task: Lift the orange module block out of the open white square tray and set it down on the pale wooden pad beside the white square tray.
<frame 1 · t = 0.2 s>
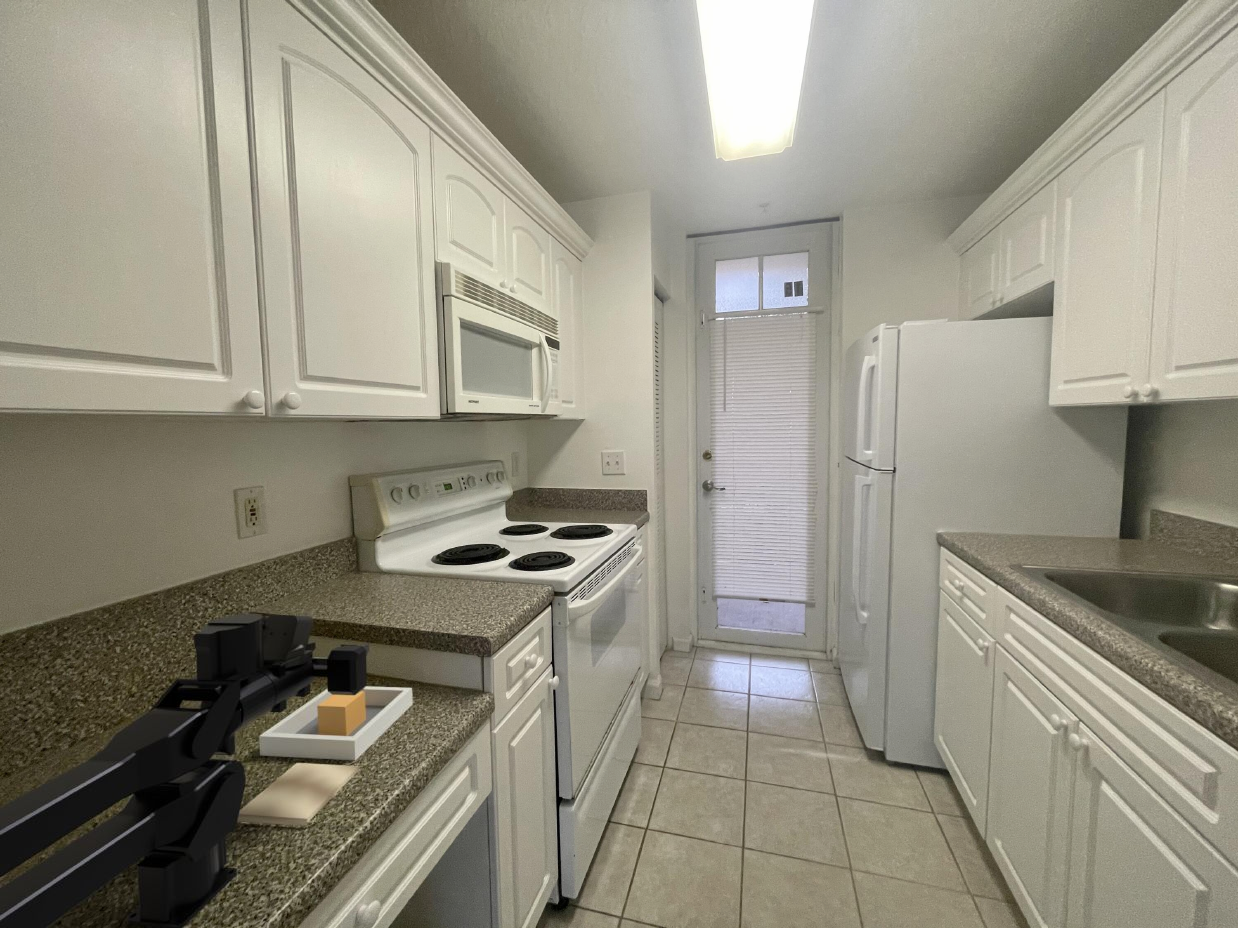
hand: (341, 645, 76), 17 cm above the worktop, tool horizontal, fingers open, 9 cm apart
module: (342, 727, 81), resting on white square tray
pad: (301, 795, 66), on the worktop
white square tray: (343, 729, 81), on the worktop
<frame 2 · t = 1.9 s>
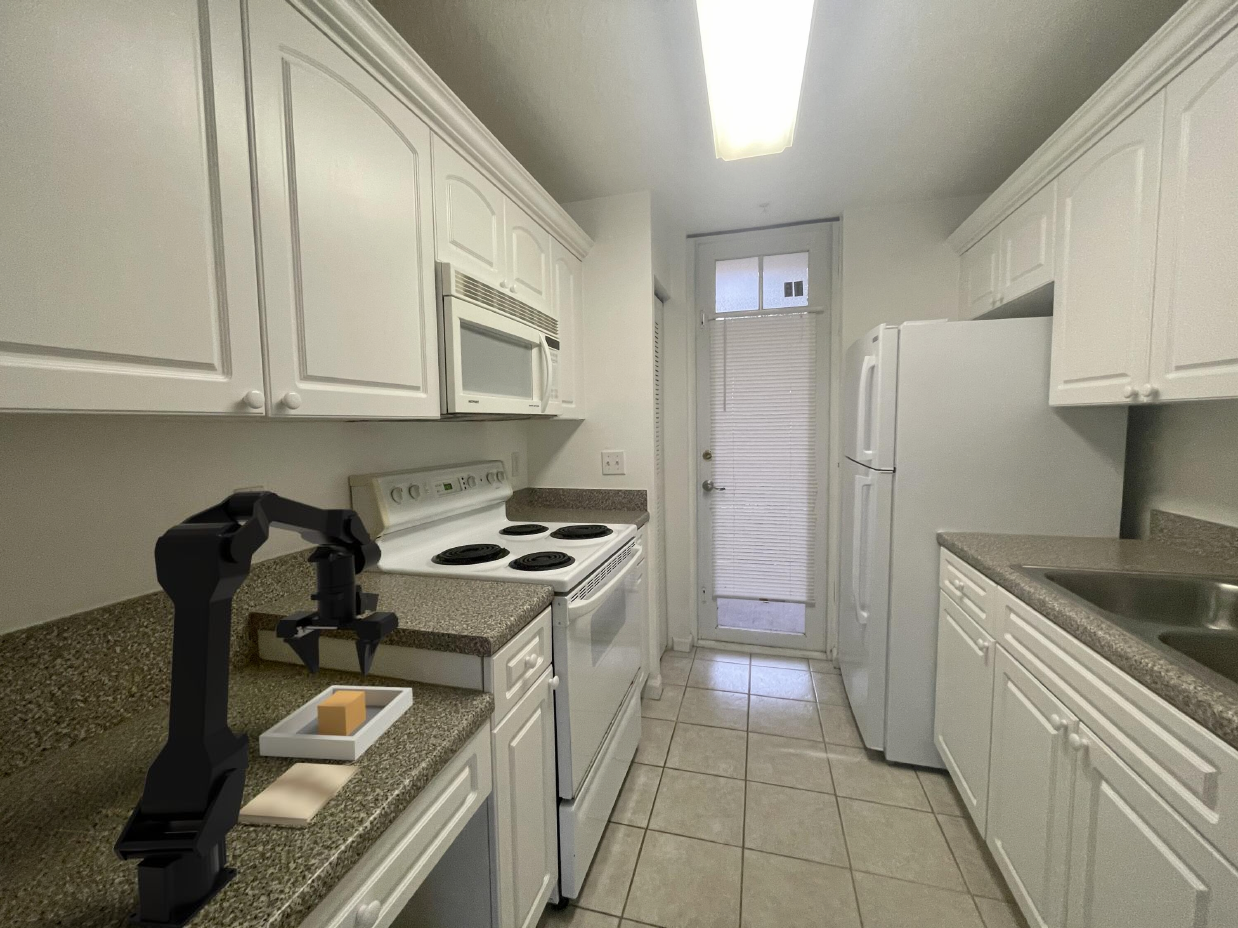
hand: (340, 674, 81), 10 cm above the worktop, tool pointing down, fingers open, 9 cm apart
nothing on the worktop moved.
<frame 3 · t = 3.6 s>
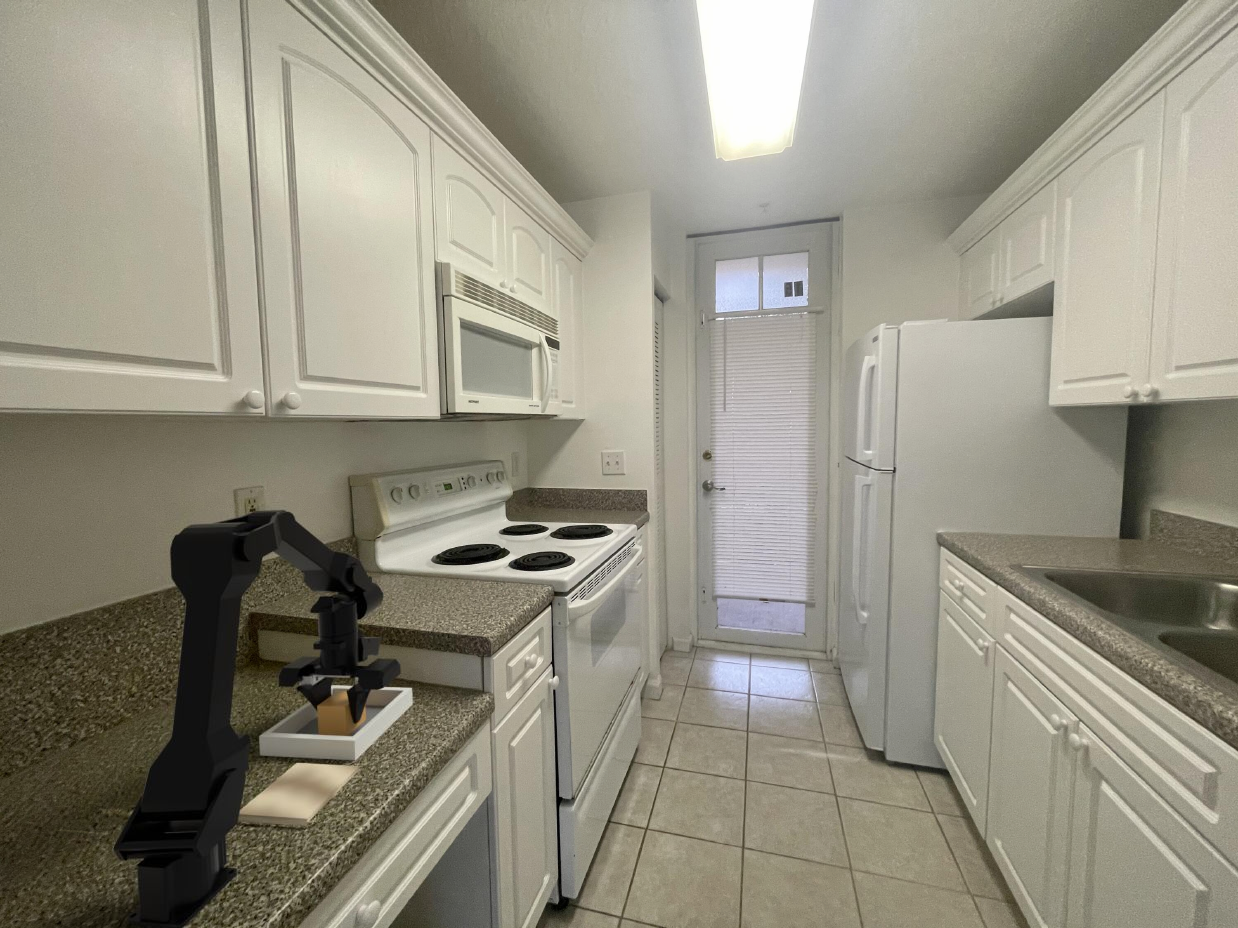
hand: (342, 721, 81), 2 cm above the worktop, tool pointing down, fingers closed on module, 5 cm apart
module: (342, 727, 81), resting on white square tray, touching gripper
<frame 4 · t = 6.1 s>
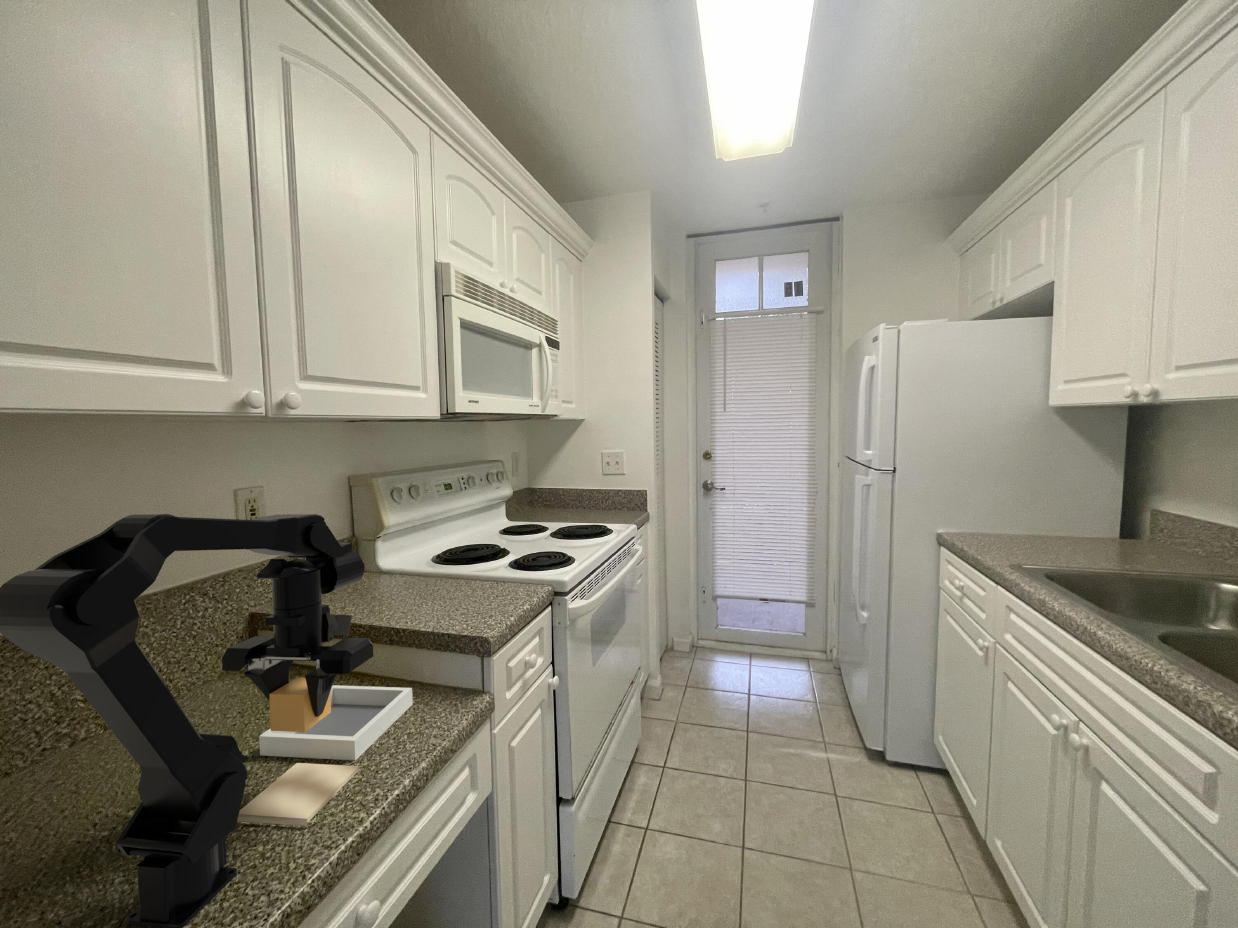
hand: (301, 714, 67), 11 cm above the worktop, tool pointing down, fingers closed on module, 5 cm apart
module: (301, 721, 67), point 10 cm above the worktop, touching gripper
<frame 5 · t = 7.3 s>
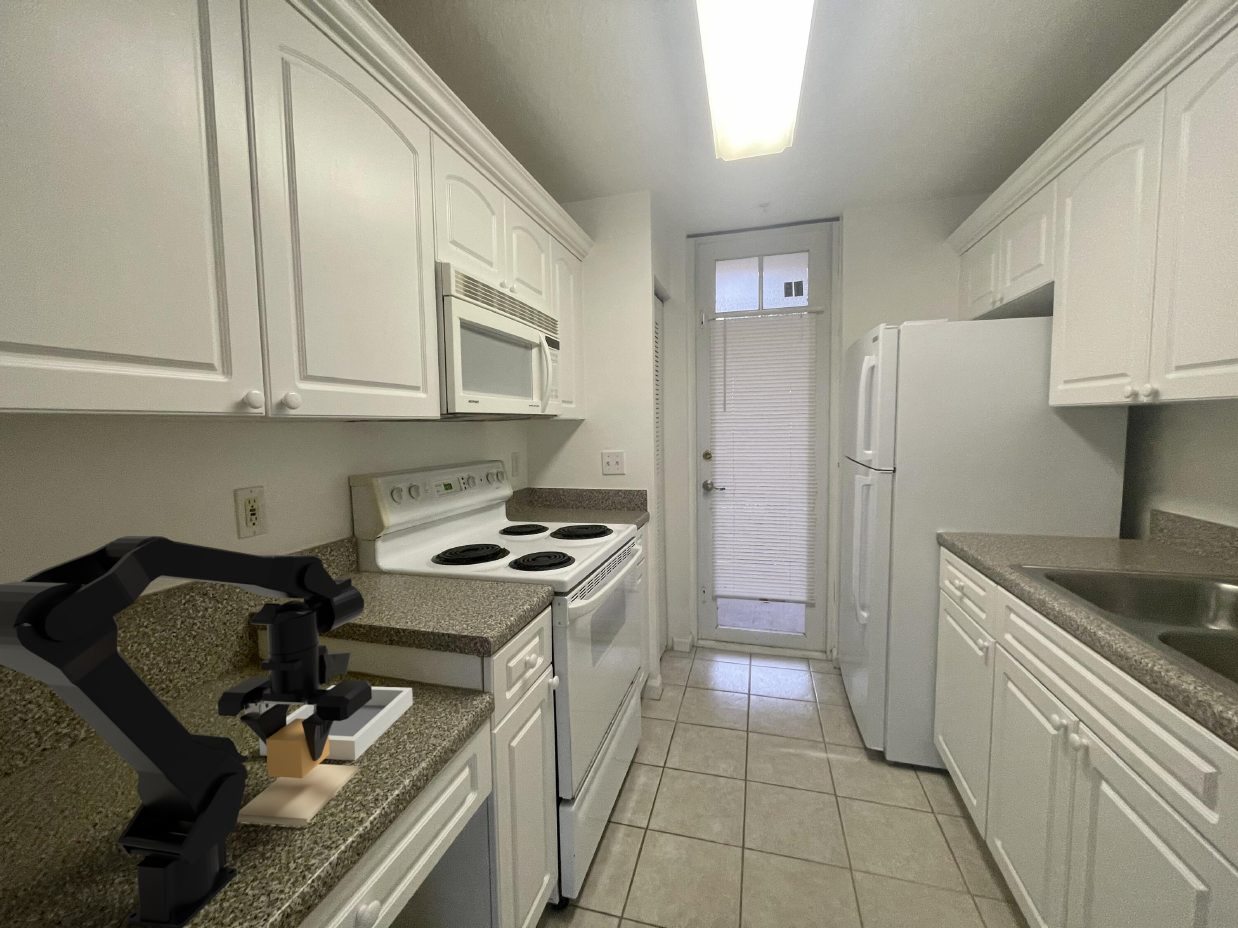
hand: (299, 758, 66), 5 cm above the worktop, tool pointing down, fingers closed on module, 5 cm apart
module: (299, 764, 66), point 4 cm above the worktop, touching gripper
when the fingers open (3 cm above the worktop, at t = 8.5 s): module drops 1 cm, resting on pad.
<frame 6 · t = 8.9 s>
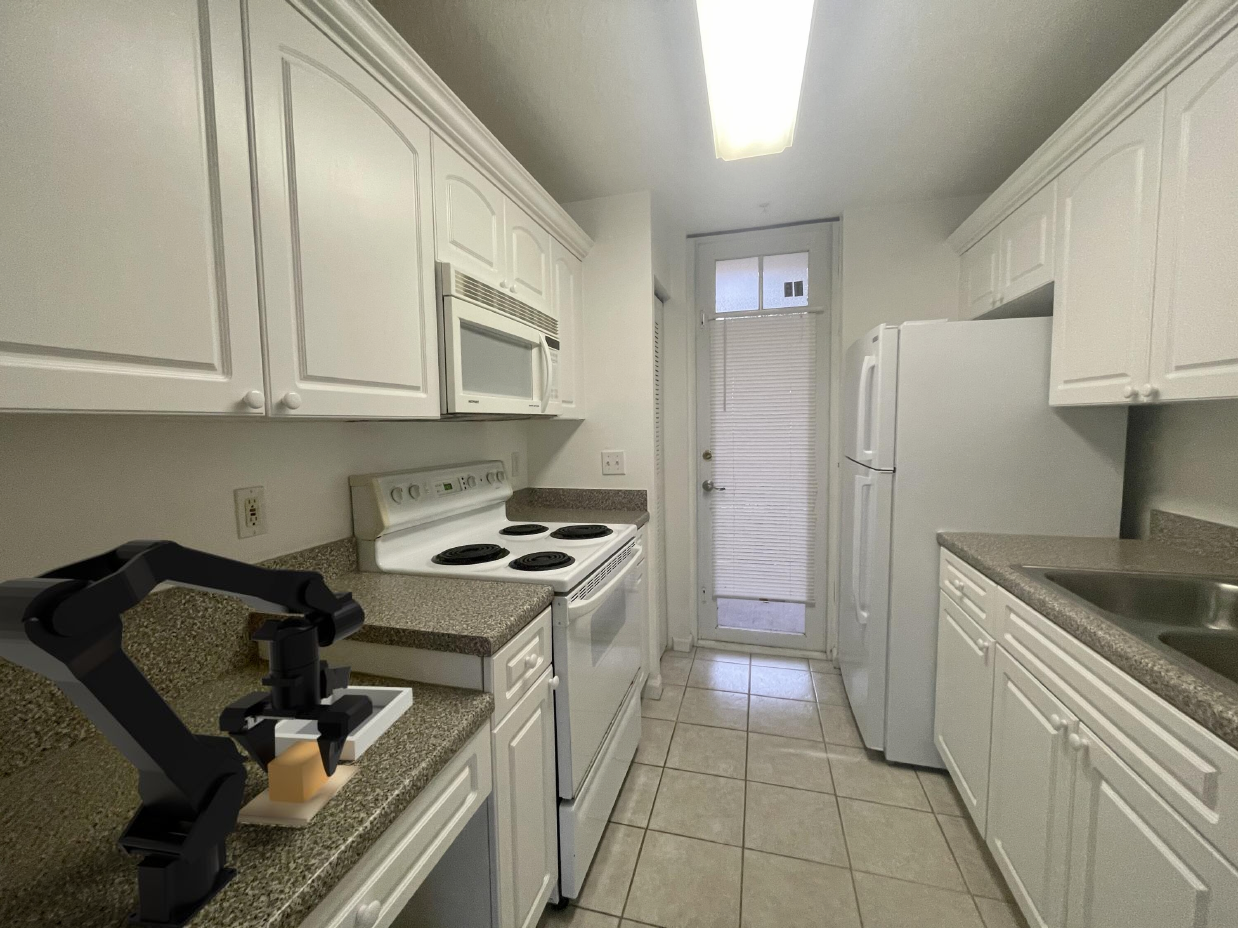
hand: (300, 772, 66), 3 cm above the worktop, tool pointing down, fingers open, 9 cm apart
module: (301, 788, 66), point 1 cm above the worktop, touching pad
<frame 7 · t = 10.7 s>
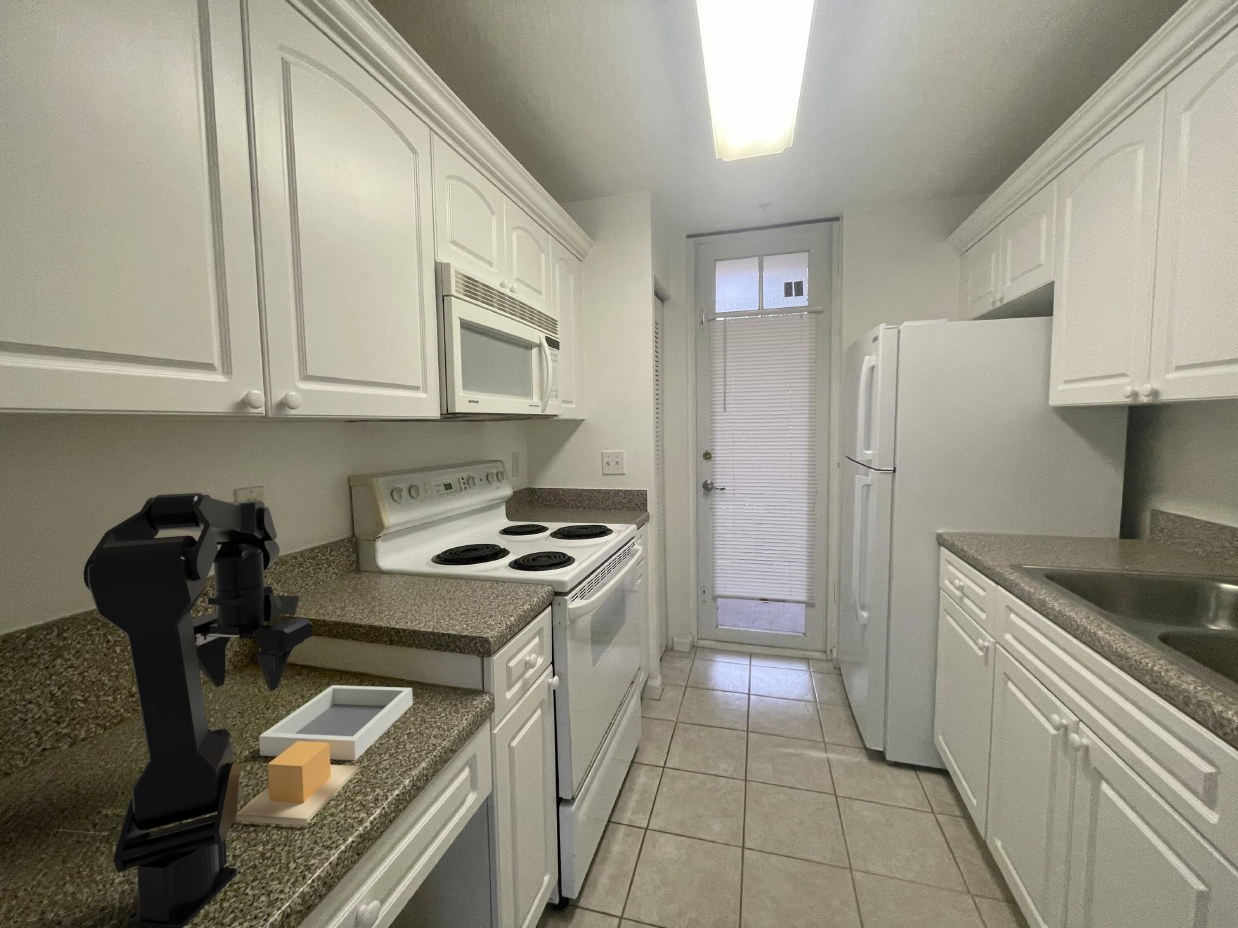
hand: (246, 687, 72), 12 cm above the worktop, tool pointing down, fingers open, 9 cm apart
nothing on the worktop moved.
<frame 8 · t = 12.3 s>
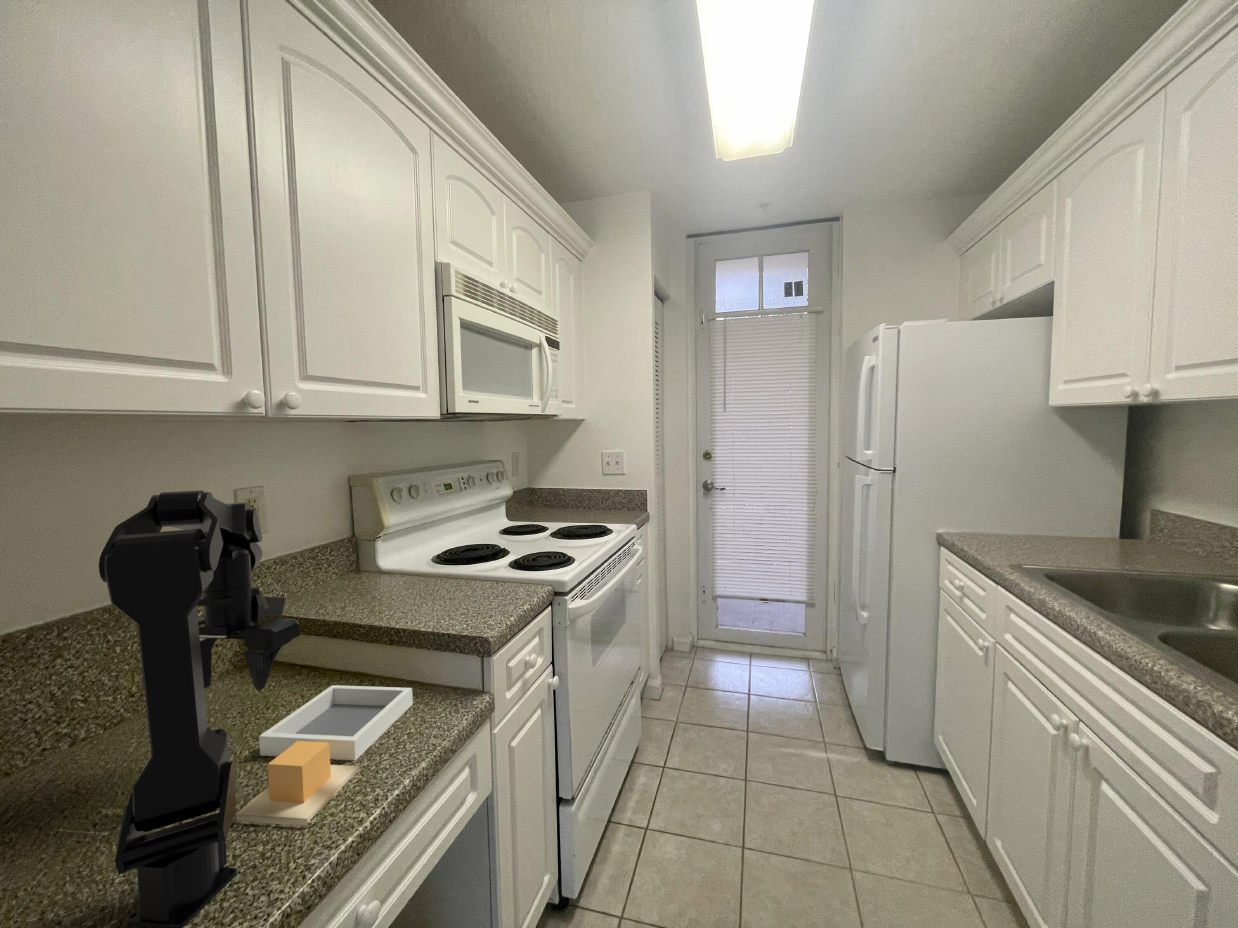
hand: (233, 688, 72), 12 cm above the worktop, tool pointing down, fingers open, 9 cm apart
nothing on the worktop moved.
at the end: module 0.0 cm off-centre on the pad, point 1.0 cm above the pad's base; the gripper is holding nothing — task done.
